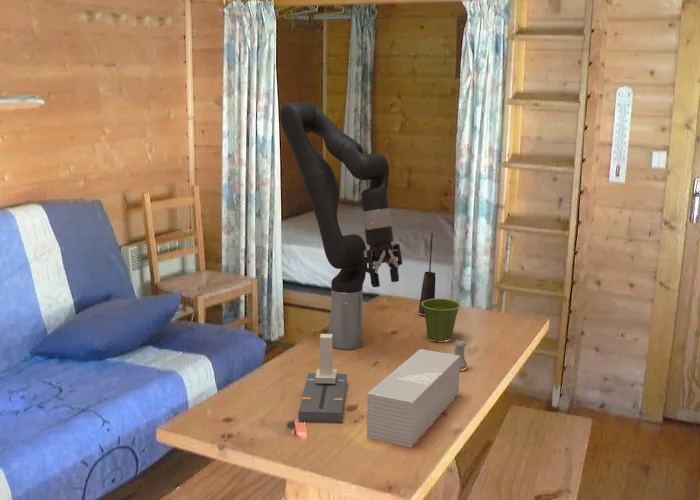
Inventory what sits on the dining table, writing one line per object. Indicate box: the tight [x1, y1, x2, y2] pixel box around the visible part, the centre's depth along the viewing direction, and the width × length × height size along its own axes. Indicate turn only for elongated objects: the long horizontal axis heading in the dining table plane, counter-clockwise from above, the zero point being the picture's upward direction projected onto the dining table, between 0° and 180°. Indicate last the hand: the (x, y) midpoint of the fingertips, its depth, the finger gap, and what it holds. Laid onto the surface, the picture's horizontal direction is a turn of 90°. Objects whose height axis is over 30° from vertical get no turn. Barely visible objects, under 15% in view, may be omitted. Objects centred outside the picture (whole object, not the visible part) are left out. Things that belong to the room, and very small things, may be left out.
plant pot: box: [421, 298, 462, 342], centre depth 235 cm, size 12×12×11 cm
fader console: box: [298, 372, 348, 424], centre depth 189 cm, size 24×10×3 cm, turn 178°
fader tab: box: [315, 333, 338, 384], centre depth 195 cm, size 6×5×12 cm
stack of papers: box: [366, 348, 460, 449], centre depth 181 cm, size 32×11×11 cm, turn 154°
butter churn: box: [418, 232, 436, 314], centre depth 257 cm, size 9×10×28 cm
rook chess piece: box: [453, 339, 468, 369], centre depth 211 cm, size 4×4×8 cm
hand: (385, 284), depth 213 cm, fingers open, 8 cm apart
